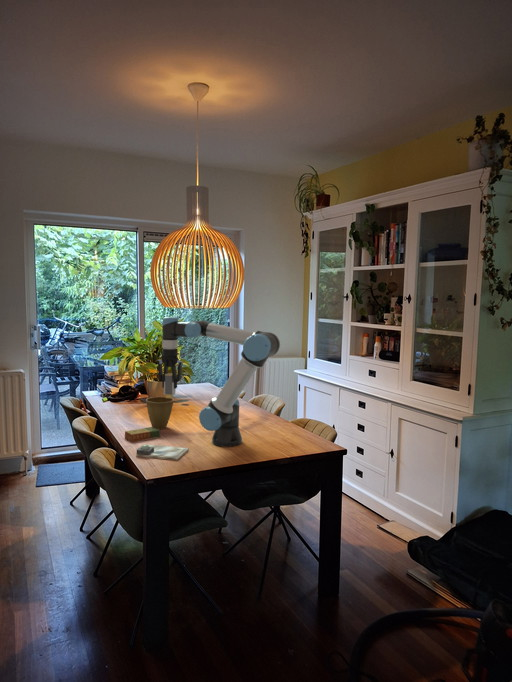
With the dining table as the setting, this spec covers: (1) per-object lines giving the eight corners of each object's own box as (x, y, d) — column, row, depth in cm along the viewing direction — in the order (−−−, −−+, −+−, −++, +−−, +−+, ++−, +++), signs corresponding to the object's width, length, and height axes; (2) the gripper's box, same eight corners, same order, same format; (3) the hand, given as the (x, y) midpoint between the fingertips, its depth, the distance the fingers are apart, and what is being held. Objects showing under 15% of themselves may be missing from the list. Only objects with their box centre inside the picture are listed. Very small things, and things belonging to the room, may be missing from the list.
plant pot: (156, 433, 267) (156, 403, 266) (140, 427, 277) (140, 399, 276) (178, 427, 278) (179, 399, 276) (162, 422, 288) (162, 395, 286)
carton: (124, 438, 257) (124, 430, 257) (152, 433, 267) (152, 426, 267) (131, 442, 251) (131, 434, 250) (160, 437, 261) (160, 429, 260)
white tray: (188, 450, 241) (188, 444, 240) (177, 460, 226) (177, 454, 226) (149, 446, 245) (149, 440, 244) (136, 456, 230) (136, 449, 230)
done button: (149, 451, 234) (149, 444, 233) (146, 453, 231) (147, 446, 230) (143, 450, 234) (143, 444, 234) (140, 452, 231) (140, 446, 231)
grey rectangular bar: (174, 397, 251) (174, 373, 250) (171, 398, 248) (171, 374, 246) (167, 396, 252) (167, 373, 251) (164, 397, 248) (165, 374, 247)
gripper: (188, 348, 249) (188, 394, 252) (157, 346, 253) (157, 391, 255) (183, 349, 242) (182, 397, 244) (151, 348, 245) (151, 394, 248)
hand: (169, 394), depth 250 cm, fingers closed on grey rectangular bar, 3 cm apart
